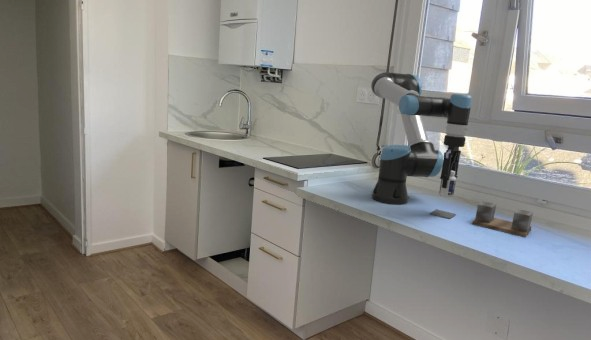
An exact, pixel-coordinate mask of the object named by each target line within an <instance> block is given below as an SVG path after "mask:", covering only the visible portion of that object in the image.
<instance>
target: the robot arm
mask: <svg viewBox="0 0 591 340" xmlns="http://www.w3.org/2000/svg"><path fill="white" fill-rule="evenodd" d="M422 88H423V84H422V81H421V79H420V77H418V76H417V75H415V74H411V73H400V72H398V73H397V72H390V71H389V72H388V71H386V72H381V73H379V74H377V75H376V76H375V77H373V79H372V81H371V91H372V93H373V94H374V96H376V97H378V98H379V99H386V100H387V101H389V102H390V103H392V104H394V105H396V106H397V107H398V110H399V112H400V115H401V116H400V117H401V120H402V124H403V128H404V132H405V136H406V140H407V143H408V145H406V144H391V145H386V146H384V147H383V148H382V150H381V155H380V161H379V169H378V170H379V172H378V176H377V177H378V178H377V181H376V183H375V186H374V188H373V189H372V192H371V193H372V194H371V198H372V199H373V200H375V201H377V202H380V203H384V204H388V205H389V204H391V205H403V204H407V203H408V201H409V194H408V189H407V178H408V177H419V178H421V177H422V178H433V177H437V175H439V174H440V177H439V179H440V180H441V179H442V184H441V183H440V184H441V191H440V190H439V191H440V194H439V196H441V197H445V198H447V196H448V190H449V183H450V180H449V178H450V174H451V170H452V171H455V175H454V177H455V178H456V179H457V178H458V170H459V162H460V157H461V153H462V151H461V150H460V148H464V147H465V145H466V140H467V139H466V137H465V136H467V131H469V128H468V124H469V120H470V115H471V114H470V113H471V108H472V100H473V99H472V95H471V94H463V93H462V94H460V93H452V94H451V95H450V98H449V97H448V98H447V97H436V96H422V95H421V94H422V91H423V90H422ZM423 117H434V118H435V117H436V118H446V120H447V121H446V123H445V125H446V127H445V131H444V133H445V135H444V140H443V145H445V146H447V150H446V151H445V152H444V153H442V152H441V151H440V150H439V149H435V146H434V143H433V142H431V141H429V138H428V134H427V132H426V131H427V130H426V126H425V123H424V120H423ZM445 175H446V176H445Z"/></svg>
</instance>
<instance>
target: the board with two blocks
mask: <svg viewBox="0 0 591 340" xmlns="http://www.w3.org/2000/svg"><path fill="white" fill-rule="evenodd" d="M496 207H497V203H494V202H493V203H492V202H488V201H485V200H482V201H481V202H480V203H478V204H477V207H476V212H475V213H476V215H475V217H474V219H473V220H472V225H474V226H477V227H478V226H479V227H481V228H482V227H483V228H488V229H491V230H495V231H497V232H498V231H499V232H501V233H502V232H503V233H508V234H511V235H515V236H520V237H524V238H527V236H528V235H529V233H530V232H531V230H532V227H533V226H531V224H532V219H533V215H534V214H533V213H534V212H533V211H530V210H527V209H526V210H525V209H519V208H517V209H516V210H515V211H514V213H513V217H512V221H510V220H506V219H502V218H497V217H495V214H496V209H497V208H496Z"/></svg>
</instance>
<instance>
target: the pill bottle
mask: <svg viewBox="0 0 591 340" xmlns="http://www.w3.org/2000/svg"><path fill="white" fill-rule="evenodd" d="M454 175H455V171H452V170H451V174H450V178H449V180H450V183H449V190H448V196H447V197H448V198H452V197H454V196H455V188H456V181H457V178H455V177H454ZM445 176H446V175H445ZM441 184H442V179H440V184H439V185H440V186H439V191H438V194H439V195H440V191H441ZM447 197H446V198H447Z"/></svg>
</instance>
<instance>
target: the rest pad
mask: <svg viewBox="0 0 591 340" xmlns="http://www.w3.org/2000/svg"><path fill="white" fill-rule="evenodd" d="M429 215H433V216H437V217H440V218H443V219H448V220H451V219H452V218H454V217H455V216H457V214H456V213H454V212H449V211H445V210H442V209H437V208H436V209H434V210H432V211H430V212H429Z"/></svg>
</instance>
